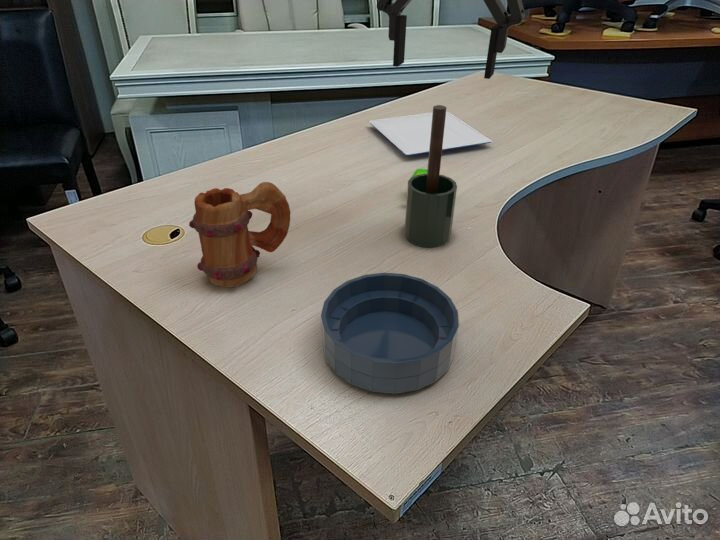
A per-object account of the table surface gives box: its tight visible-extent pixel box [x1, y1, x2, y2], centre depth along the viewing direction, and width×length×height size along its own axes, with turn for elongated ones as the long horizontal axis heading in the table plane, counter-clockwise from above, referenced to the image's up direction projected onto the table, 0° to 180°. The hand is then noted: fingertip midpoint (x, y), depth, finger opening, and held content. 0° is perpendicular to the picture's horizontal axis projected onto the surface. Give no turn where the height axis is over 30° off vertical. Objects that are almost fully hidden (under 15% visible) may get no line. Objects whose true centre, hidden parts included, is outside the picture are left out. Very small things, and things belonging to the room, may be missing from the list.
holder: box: [404, 173, 458, 249], centre depth 90 cm, size 8×8×10 cm
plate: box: [368, 110, 493, 157], centre depth 129 cm, size 22×22×2 cm
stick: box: [425, 104, 447, 194], centre depth 86 cm, size 2×2×22 cm
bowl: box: [320, 272, 460, 395], centre depth 68 cm, size 17×17×6 cm
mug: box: [188, 181, 291, 288], centre depth 79 cm, size 15×8×15 cm, turn 108°
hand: (442, 70), depth 77 cm, fingers open, 13 cm apart
